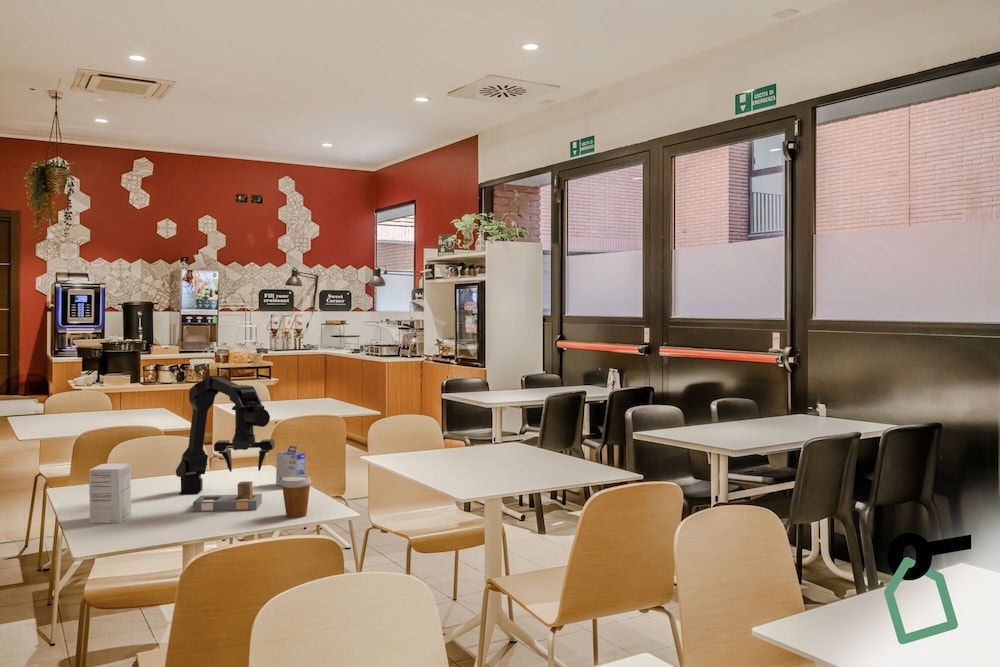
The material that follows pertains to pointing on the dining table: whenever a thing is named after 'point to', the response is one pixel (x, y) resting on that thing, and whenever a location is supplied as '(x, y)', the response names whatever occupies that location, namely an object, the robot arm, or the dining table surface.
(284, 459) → the ink cartridge box
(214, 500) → the socket board
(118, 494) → the supplement box
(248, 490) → the walnut plug
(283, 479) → the disposable coffee cup
